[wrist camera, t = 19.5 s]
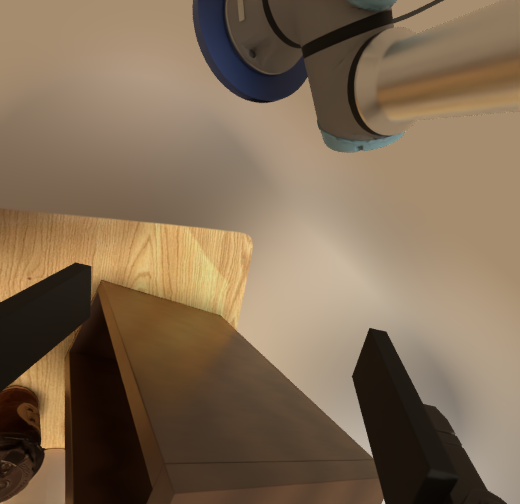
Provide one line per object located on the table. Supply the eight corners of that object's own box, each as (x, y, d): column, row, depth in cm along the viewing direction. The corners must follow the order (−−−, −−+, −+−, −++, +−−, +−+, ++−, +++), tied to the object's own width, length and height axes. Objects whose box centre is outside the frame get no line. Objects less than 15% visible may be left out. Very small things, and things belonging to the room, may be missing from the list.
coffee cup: (43, 370, 46) (37, 431, 35) (53, 417, 48) (50, 488, 38) (-35, 391, 42) (-70, 468, 31) (-20, 442, 44) (-48, 530, 33)
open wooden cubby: (220, 315, 60) (393, 476, 28) (191, 378, 60) (334, 611, 28) (101, 280, 48) (174, 493, 16) (64, 358, 47) (65, 733, 16)
